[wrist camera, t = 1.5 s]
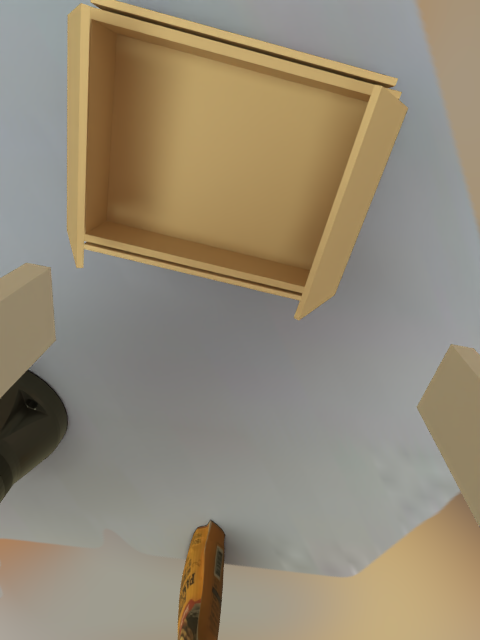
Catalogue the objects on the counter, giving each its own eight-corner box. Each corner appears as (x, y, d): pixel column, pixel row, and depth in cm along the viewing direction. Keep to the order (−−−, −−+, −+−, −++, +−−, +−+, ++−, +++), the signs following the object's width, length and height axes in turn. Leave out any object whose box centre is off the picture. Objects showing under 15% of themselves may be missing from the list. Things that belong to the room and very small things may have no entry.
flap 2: (330, 292, 30) (293, 317, 25) (402, 106, 24) (374, 84, 18) (334, 294, 30) (299, 320, 25) (408, 108, 24) (382, 86, 18)
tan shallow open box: (101, 230, 35) (76, 247, 30) (112, 12, 27) (80, -9, 22) (314, 282, 36) (321, 305, 31) (383, 87, 28) (406, 81, 23)
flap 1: (74, 17, 23) (89, 6, 18) (72, 230, 29) (83, 267, 24) (67, 15, 23) (81, 3, 17) (66, 230, 29) (76, 267, 24)
